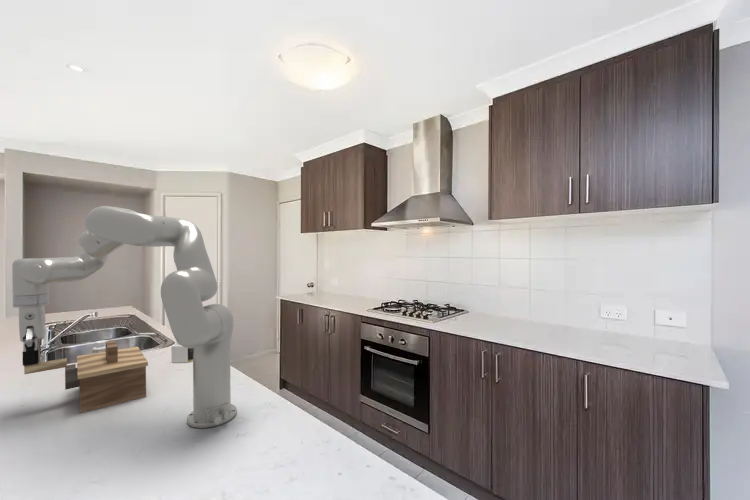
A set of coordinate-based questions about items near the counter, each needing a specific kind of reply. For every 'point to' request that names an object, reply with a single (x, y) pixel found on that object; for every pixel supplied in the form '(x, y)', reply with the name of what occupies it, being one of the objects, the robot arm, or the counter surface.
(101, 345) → the supplement bottle
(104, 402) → the brown wooden box
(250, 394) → the counter surface
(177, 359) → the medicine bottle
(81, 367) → the lid
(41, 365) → the bent tan strip
